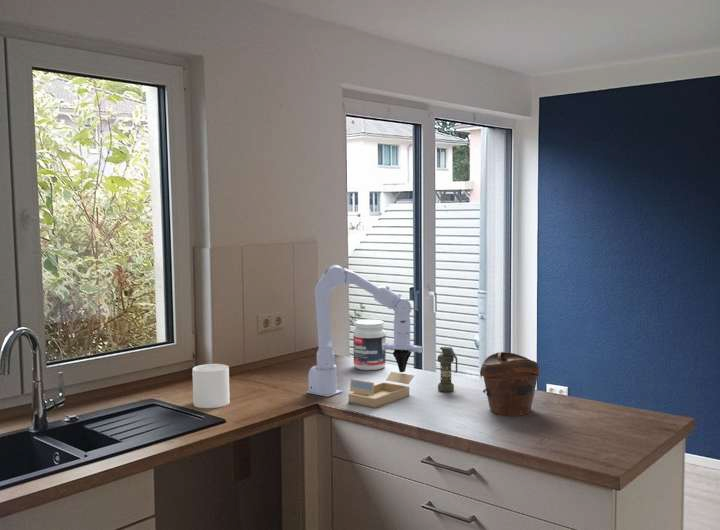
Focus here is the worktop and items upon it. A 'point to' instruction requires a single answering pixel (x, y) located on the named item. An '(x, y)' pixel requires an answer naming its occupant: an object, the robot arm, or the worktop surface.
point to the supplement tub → (369, 345)
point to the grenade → (446, 369)
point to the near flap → (362, 387)
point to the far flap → (400, 378)
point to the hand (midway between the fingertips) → (402, 371)
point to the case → (509, 383)
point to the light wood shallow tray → (380, 395)
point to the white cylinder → (211, 386)
